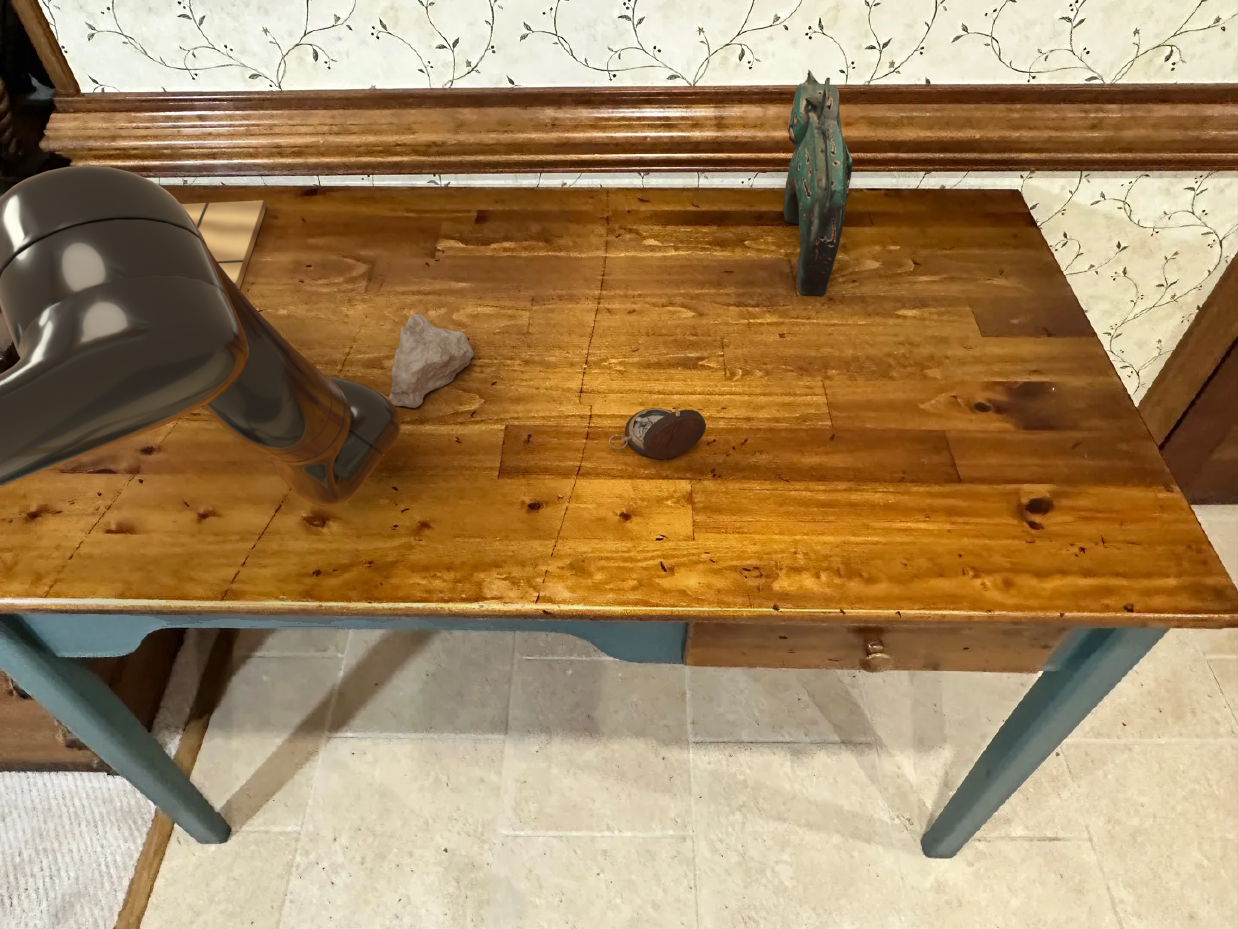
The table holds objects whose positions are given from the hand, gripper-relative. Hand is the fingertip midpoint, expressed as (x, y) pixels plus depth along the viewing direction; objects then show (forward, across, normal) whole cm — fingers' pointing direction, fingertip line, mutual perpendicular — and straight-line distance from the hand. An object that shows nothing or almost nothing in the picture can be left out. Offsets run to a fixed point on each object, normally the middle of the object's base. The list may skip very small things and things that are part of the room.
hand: (120, 288), depth 86 cm
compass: (-48, -23, +10) cm, 54 cm away
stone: (-24, -16, +10) cm, 31 cm away
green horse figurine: (-43, -61, +10) cm, 75 cm away
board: (+9, -8, +10) cm, 16 cm away
